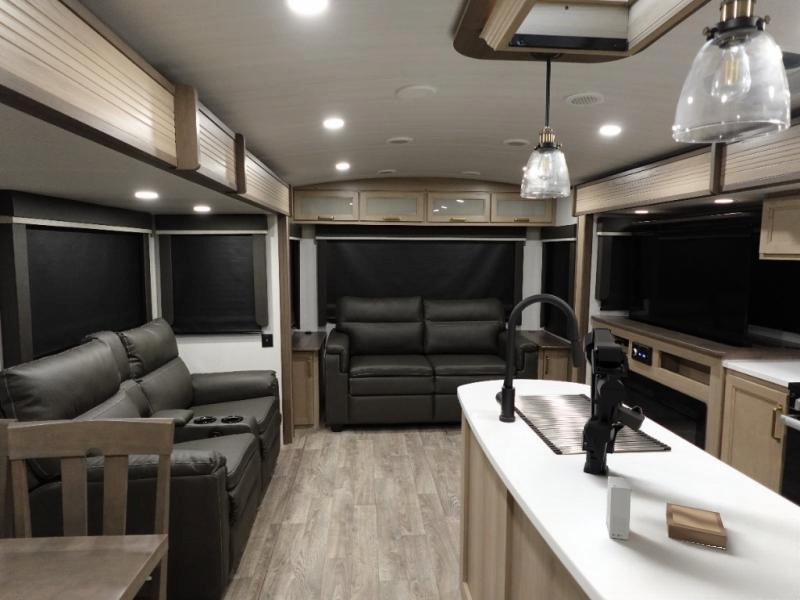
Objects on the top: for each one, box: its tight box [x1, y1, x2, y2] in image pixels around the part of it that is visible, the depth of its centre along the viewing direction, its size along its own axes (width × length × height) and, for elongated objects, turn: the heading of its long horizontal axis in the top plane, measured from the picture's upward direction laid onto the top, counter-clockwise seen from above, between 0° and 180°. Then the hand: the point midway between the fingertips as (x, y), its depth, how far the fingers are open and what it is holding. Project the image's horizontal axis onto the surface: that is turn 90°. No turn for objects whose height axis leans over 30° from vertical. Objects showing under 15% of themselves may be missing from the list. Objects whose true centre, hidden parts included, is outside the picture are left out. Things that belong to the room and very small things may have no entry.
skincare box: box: [605, 475, 632, 541], centre depth 113 cm, size 6×4×12 cm
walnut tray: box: [665, 502, 728, 549], centre depth 113 cm, size 11×11×3 cm
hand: (605, 456), depth 124 cm, fingers open, 9 cm apart
